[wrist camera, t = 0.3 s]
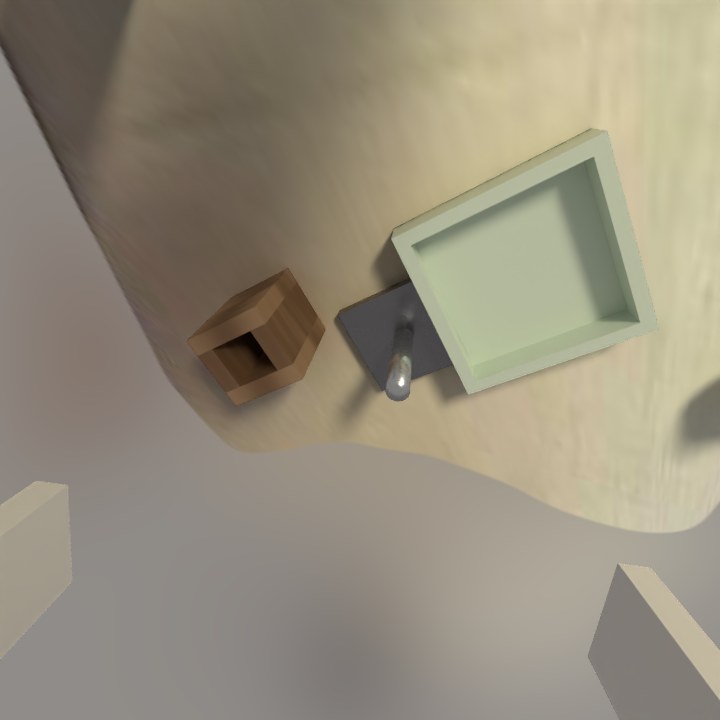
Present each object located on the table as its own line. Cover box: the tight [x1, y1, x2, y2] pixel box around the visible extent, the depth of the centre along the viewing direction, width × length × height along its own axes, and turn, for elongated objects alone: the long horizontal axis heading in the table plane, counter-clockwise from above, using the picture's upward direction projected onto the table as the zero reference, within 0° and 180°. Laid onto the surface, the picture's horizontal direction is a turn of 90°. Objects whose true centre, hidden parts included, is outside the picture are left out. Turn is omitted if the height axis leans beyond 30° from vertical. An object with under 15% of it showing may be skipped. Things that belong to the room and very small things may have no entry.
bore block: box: [187, 268, 326, 406], centre depth 34 cm, size 6×6×8 cm
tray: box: [391, 129, 659, 395], centre depth 32 cm, size 14×14×3 cm
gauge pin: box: [338, 278, 453, 401], centre depth 33 cm, size 8×8×9 cm
